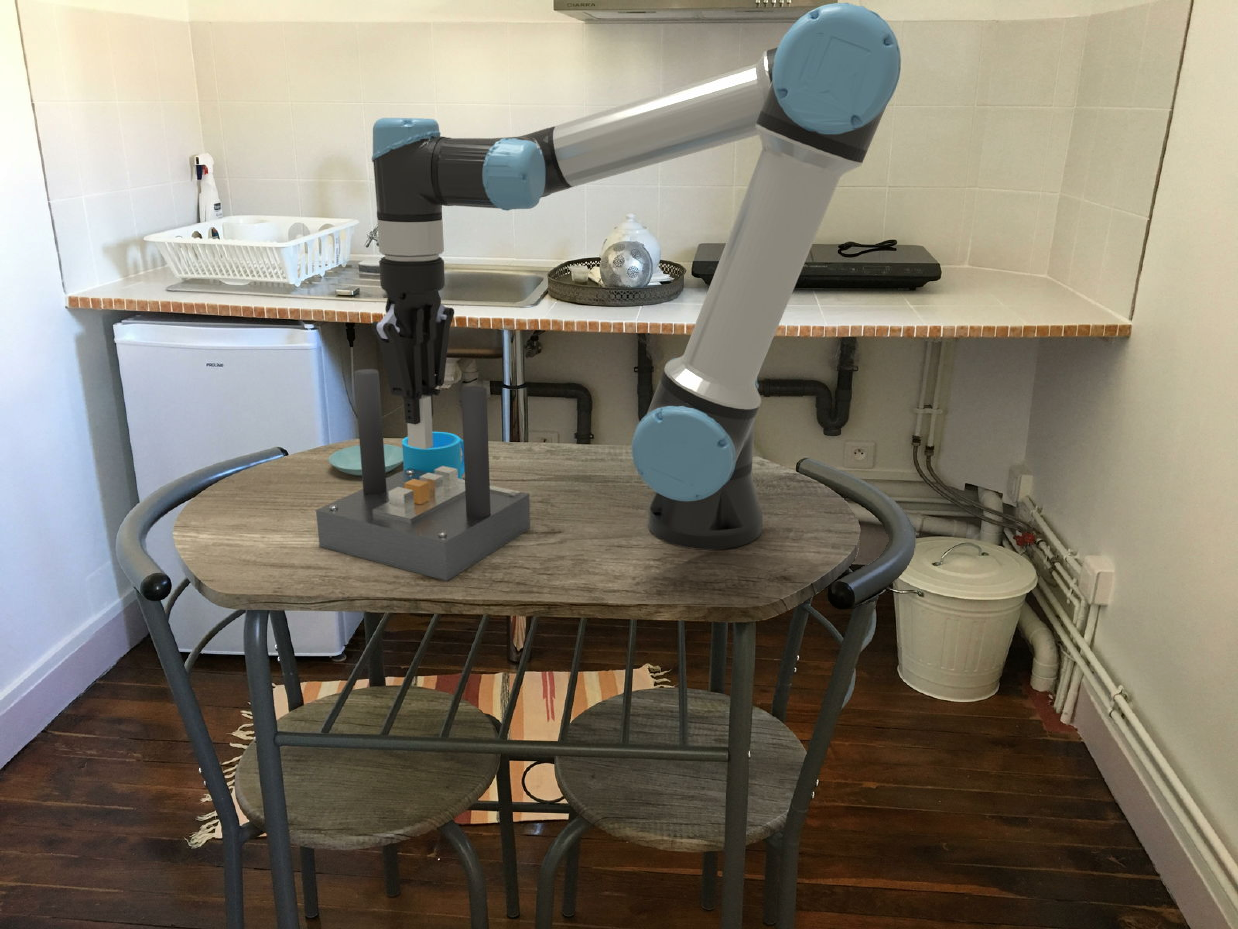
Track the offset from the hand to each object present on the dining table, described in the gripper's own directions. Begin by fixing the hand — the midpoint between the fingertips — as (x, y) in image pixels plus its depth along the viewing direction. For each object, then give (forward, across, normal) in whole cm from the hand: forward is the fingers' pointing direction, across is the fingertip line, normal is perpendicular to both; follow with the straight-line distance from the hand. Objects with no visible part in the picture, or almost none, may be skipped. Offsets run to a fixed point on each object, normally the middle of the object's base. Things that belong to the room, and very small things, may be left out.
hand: (420, 445), depth 127 cm
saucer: (+13, -17, -24) cm, 32 cm away
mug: (+13, -15, -9) cm, 22 cm away
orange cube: (+7, +1, 0) cm, 7 cm away
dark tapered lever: (+8, 0, +8) cm, 11 cm away
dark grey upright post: (+8, 0, -8) cm, 11 cm away
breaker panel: (+13, 0, 0) cm, 13 cm away
